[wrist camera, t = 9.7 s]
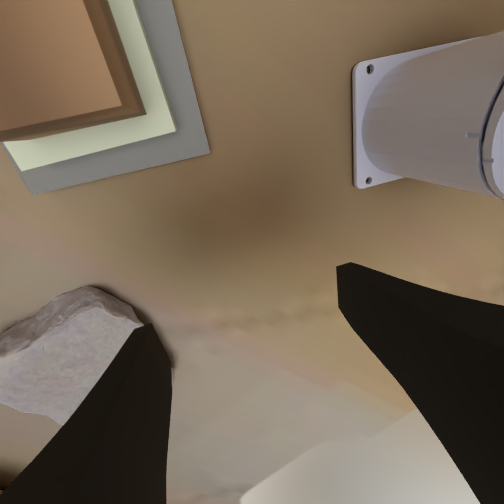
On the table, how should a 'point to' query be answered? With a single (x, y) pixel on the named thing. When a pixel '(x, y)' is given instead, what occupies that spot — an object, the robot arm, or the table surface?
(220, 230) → the table surface
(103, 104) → the walnut cube
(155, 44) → the grey square slab
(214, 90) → the table surface
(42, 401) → the stone block
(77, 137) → the sage block
